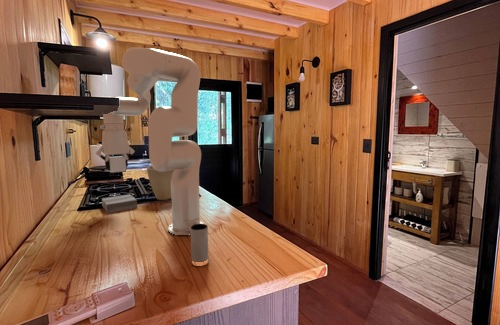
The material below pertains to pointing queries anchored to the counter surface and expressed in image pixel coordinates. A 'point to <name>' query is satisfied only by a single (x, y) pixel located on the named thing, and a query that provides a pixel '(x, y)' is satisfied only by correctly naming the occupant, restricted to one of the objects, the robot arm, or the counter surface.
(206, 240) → the grey cylinder
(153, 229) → the counter surface
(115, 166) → the white cube
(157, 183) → the plant pot
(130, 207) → the charcoal block
